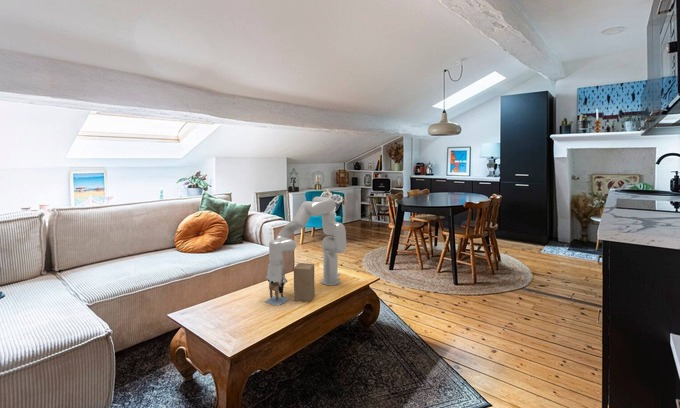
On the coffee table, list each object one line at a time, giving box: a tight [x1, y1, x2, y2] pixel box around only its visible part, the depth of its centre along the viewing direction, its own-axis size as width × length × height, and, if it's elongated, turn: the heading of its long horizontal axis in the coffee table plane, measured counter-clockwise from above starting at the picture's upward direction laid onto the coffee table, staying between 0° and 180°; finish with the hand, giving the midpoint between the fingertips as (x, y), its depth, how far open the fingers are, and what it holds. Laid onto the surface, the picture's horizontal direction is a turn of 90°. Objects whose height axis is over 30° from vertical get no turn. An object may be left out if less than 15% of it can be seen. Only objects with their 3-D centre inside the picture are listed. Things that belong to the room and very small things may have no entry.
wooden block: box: [293, 262, 315, 302], centre depth 207 cm, size 10×10×20 cm
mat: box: [264, 295, 290, 307], centre depth 204 cm, size 10×10×1 cm
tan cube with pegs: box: [268, 282, 285, 300], centre depth 203 cm, size 6×6×8 cm
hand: (276, 291), depth 203 cm, fingers closed on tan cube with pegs, 6 cm apart
